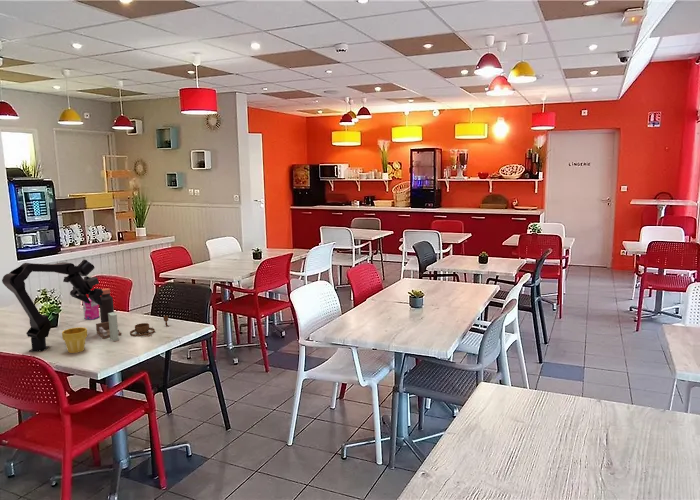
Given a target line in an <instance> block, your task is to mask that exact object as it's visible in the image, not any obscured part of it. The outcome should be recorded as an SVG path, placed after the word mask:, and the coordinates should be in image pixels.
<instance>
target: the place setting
mask: <svg viewBox="0 0 700 500" xmlns="http://www.w3.org/2000/svg"><path fill="white" fill-rule="evenodd" d="M163 321H164V322H165V323H164V324H165V327H168V322H169V315H164V316H163ZM149 331H150V332H149ZM154 333H155V328H154V327H150V324H149V323H147V322H143V323H137V324H134V329H131V331H129V334H130V335H131V337H140V338H143V337H144V338H150V337H152V335H153V334H154Z"/></svg>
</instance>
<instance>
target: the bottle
mask: <svg viewBox="0 0 700 500" xmlns="http://www.w3.org/2000/svg"><path fill="white" fill-rule="evenodd" d="M101 289H102V290H103V294H102V295H101V301H102V305H101V306H100V305H98V307H99V318H100V323H103V322H109V318H108V313H112V312H114V313H115V311H114V310H115V309H114V297H112V296H111V288H108V287H107V288H101Z"/></svg>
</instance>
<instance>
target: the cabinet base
mask: <svg viewBox="0 0 700 500" xmlns="http://www.w3.org/2000/svg"><path fill="white" fill-rule="evenodd" d="M95 328H96V335H98V336H99V337H100V338H101V339H102V340H103V339H104V340H105V339H109V338H110V329H109V322H103V323H101V322H100V323H95ZM122 334H123V333H122V332H121V331H120V330H119V328H118V336H119V337H120V336H122Z"/></svg>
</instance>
